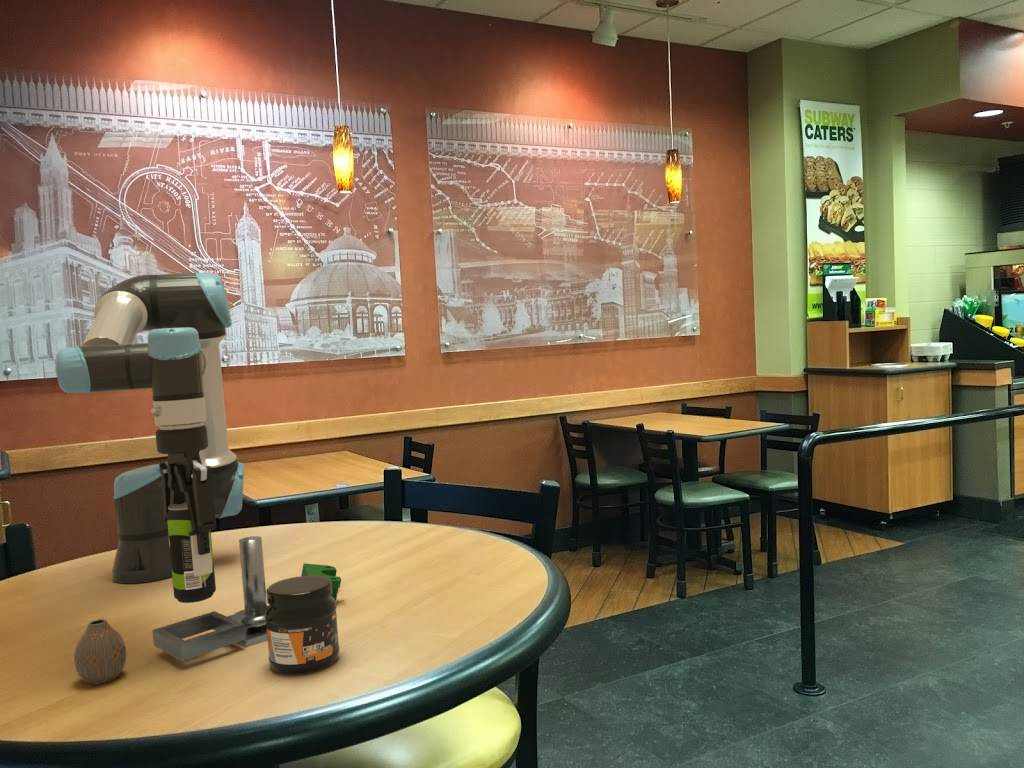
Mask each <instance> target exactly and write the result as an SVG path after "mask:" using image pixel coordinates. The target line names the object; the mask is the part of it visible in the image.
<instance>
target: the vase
mask: <svg viewBox="0 0 1024 768" xmlns="http://www.w3.org/2000/svg"><path fill="white" fill-rule="evenodd" d="M73 655H74V656H73V657H74V659H73V661H74V667H75V671H76V673H77V675H78V676H79V678H80V679H81V680H83V681H84V682H85V683H87V684H89V683H90V684H89V685H93V684H95V685H98V684H97V683H103V684H105V683H104V682H107V683H108V681H109V682H112V681H114V680H115V679H116V678H118V676H119V675H120V674H121V673H122V671H123V670H124V668H125V665H126V660H127V647H126V644H125V641H124V639H123V637H122V636H121V634H120V633H119V632H118V631H117V630H116V629H115V628H114V627H112V626H111V625H110V624H109V623H108V621H107V620H106V619H104V618H100V619H93V620H91V621H90V622H88V624H87V626H86V629H85V631H84V633H83V634H82V636H81V637H80V639H78V642H77V644H76V646H75V650H74V654H73ZM113 679H114V680H113ZM111 680H112V681H111Z"/></svg>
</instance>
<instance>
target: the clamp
mask: <svg viewBox="0 0 1024 768" xmlns="http://www.w3.org/2000/svg"><path fill="white" fill-rule="evenodd" d="M301 569H302V570H301V575H300V576H322V577H326V578H328V579H330V580H331V583H332V595H331V596H332V597H333V598H334V599H335V601H336V602H337V598H338V592H339V589H340V588H341V584H342V579H341V576H337V569H336V567H335V566H333V565H328V564H317V563H315V564H314V563H305V562H304V563H303V564H302V568H301Z"/></svg>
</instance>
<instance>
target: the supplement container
mask: <svg viewBox="0 0 1024 768" xmlns="http://www.w3.org/2000/svg"><path fill="white" fill-rule="evenodd" d="M331 595H332V583H331V580H330V579H328V578H326V577H322V576H301V575H300V576H294V577H289V578H285V579H282V580H281V579H280V580H279V581H276V582H274V583H272V584H271V585H269V586H268V587H267V589H266V599H267V606H268V607H267V608H266V610H265V619H266V626H267V638H268V640H267V647H268V650H267V651H268V663H269V665H270V666H269V667H271V669H273V670H274V671H276V672H278V673H281V674H284V675H303V674H304V675H305V674H309V673H314V672H317V671H321V670H323V669H325V668H327V667H329V666H330V665H332V664H333V663H335V661H336V660H337V658H338V657H339V655H340V644H339V631H338V630H339V629H338V617H337V605H338V604H337V600H336V601H335V599H334V598H333V597H332V596H331Z"/></svg>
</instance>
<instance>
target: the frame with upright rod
mask: <svg viewBox="0 0 1024 768" xmlns="http://www.w3.org/2000/svg"><path fill="white" fill-rule="evenodd" d="M238 542H239V543H238V544H239V555H240V566H241V567H240V569H241V579H242V580H241V583H242V593H243V594H242V595H243V605H244V609H242V610H239V611H237V612H235V613H234V614H230V615H227V616H226V615H224V614H222V613H220V612H217V611H210V612H208V613H204V614H201V615H198V616H193V617H191V618H187V619H183V620H180V621H177V622H174V623H171V624H167V625H164V626H162V627H158V628H154V629H152V631H151V632H152V642H153V646H154V647H156V648H158V649H159V650H161V651H164V653H167V654H169V655H170V656H173V657H174V658H176V659H178V660H180V661H181V662H182V661H185V660H188V659H192V658H194V657H197V656H201V655H204V654H207V653H210V652H213V651H215V650H219V649H221V648H224V647H227V646H230V645H233V644H235V643H238V644H240V645H242V646H244V647H245V648H248V647H250V646H253V645H256V644H258V643H261V642H265V641H268V638H267V626H266V619H265V610H266V608H267V607H268V603H267V593H266V591H267V589H266V577H265V567H264V564H265V563H264V552H263V551H264V550H263V539H262V537H261V536H258V535H257V536H256V535H255V536H245V537H242V538H240V539H239V540H238ZM212 630H213V631H212ZM208 631H211V632H208ZM205 632H207V633H205ZM201 633H204V634H201ZM198 634H201V635H198ZM196 635H198V636H196ZM193 636H195V637H193ZM189 637H191V638H189ZM187 638H188V639H187Z"/></svg>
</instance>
